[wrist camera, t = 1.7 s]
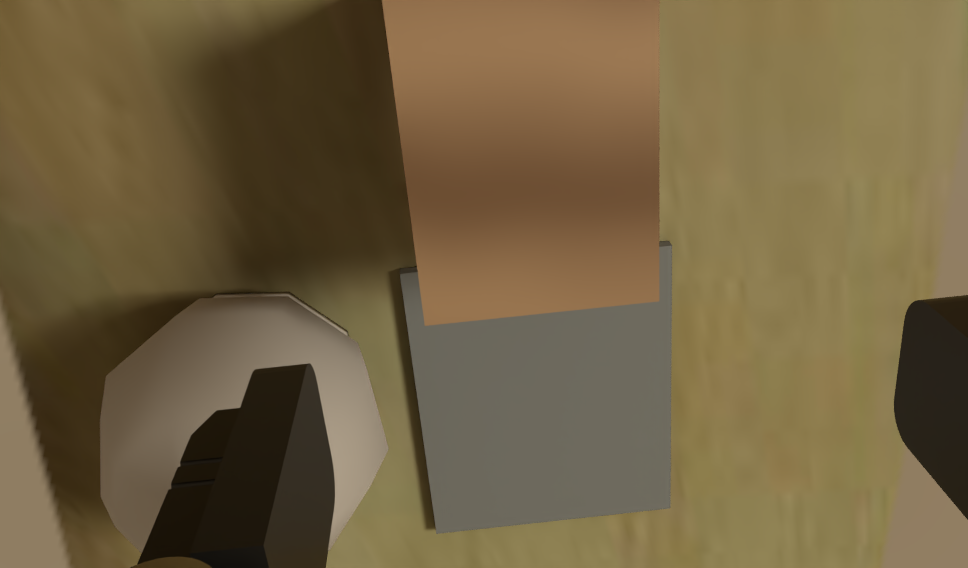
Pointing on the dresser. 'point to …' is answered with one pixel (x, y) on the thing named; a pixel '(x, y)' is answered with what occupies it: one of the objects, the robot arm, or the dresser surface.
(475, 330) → the mat
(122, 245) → the dresser surface
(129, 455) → the potion bottle
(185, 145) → the dresser surface
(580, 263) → the small wooden bench
